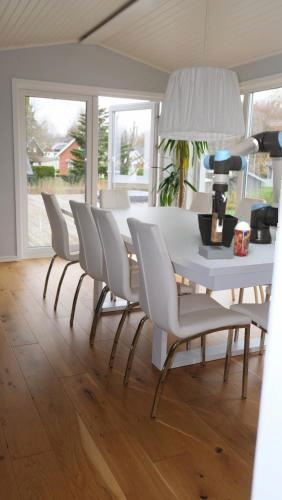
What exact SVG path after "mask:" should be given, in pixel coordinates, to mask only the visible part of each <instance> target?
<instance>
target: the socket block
mask: <svg viewBox="0 0 282 500" xmlns="http://www.w3.org/2000/svg"><path fill="white" fill-rule="evenodd" d="M197 254H198V255H200V256H202V257H203V258H204V259H206V260H233V259H234V250H232V249H230V248H229V247H224V246H205V245H198V253H197Z"/></svg>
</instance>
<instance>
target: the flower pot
mask: <svg viewBox="0 0 282 500" xmlns="http://www.w3.org/2000/svg"><path fill="white" fill-rule="evenodd" d="M212 218H213V215H212V213H197V223H198V229H199V235H200V239H201V242H202V244H203V246H224V247H226V248H230V247H231V245H232V242H233V241H234V230H235V229H234V228H235V227H236V225H237V224H238V223H239V218H238V217H236V216H234V215H232V214H228V213H225V218H223V229H222V242H213V241H211V232H212Z"/></svg>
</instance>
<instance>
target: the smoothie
mask: <svg viewBox="0 0 282 500" xmlns="http://www.w3.org/2000/svg"><path fill="white" fill-rule="evenodd" d="M234 229H235V230H234V237H233V254H234V256H237V257H247V254H248V251H249V246H250V242H249V241H250V234H251V228H250V223H248V222H246V221H245V215H243V216H242V221H240V222H239V221H238V224H237V225H236V227H235V228H234Z"/></svg>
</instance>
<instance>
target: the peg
mask: <svg viewBox="0 0 282 500" xmlns="http://www.w3.org/2000/svg"><path fill="white" fill-rule="evenodd" d="M217 217H218V213H213V218H212V232H211V241H213V242H222V232H216V224H217ZM222 229H223V222H222Z"/></svg>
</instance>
